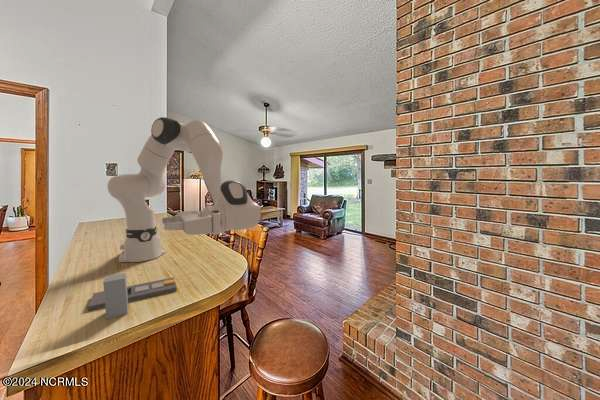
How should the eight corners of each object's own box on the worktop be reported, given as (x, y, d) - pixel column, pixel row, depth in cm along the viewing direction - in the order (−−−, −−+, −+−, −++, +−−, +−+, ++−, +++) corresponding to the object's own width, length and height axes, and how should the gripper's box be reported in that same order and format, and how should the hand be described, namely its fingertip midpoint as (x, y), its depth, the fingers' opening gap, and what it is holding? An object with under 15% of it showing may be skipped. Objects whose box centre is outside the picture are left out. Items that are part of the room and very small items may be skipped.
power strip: (94, 300, 75) (93, 291, 74) (174, 283, 86) (173, 275, 86) (88, 314, 67) (87, 304, 67) (177, 293, 79) (176, 285, 78)
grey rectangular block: (108, 314, 67) (105, 276, 66) (128, 309, 69) (126, 272, 68) (106, 322, 63) (103, 282, 62) (127, 317, 66) (124, 278, 64)
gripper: (205, 205, 86) (160, 208, 78) (220, 214, 69) (164, 218, 61) (206, 223, 86) (161, 227, 79) (221, 235, 69) (166, 242, 62)
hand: (163, 223), depth 70 cm, fingers open, 8 cm apart
